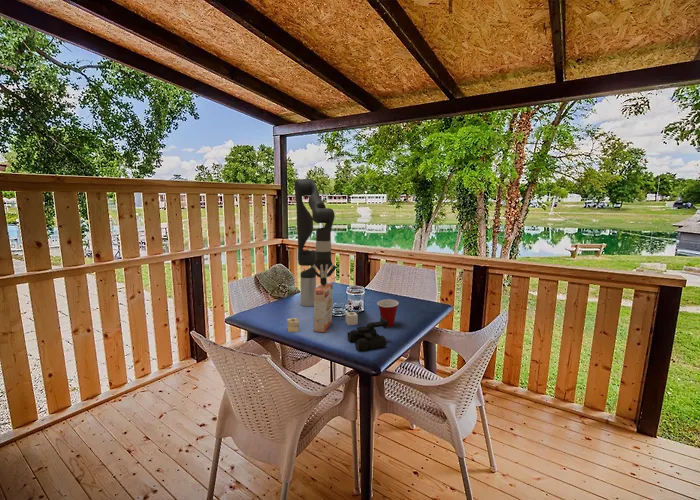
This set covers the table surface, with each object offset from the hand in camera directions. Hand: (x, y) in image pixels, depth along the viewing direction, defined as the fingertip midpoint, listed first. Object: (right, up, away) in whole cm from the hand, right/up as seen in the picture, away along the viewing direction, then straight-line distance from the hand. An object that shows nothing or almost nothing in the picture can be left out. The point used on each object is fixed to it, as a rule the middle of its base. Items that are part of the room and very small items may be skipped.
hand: (323, 285), depth 158 cm
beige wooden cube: (+14, -21, +9) cm, 26 cm away
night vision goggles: (+22, -25, -15) cm, 36 cm away
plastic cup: (+32, -21, +7) cm, 39 cm away
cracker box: (0, -21, +3) cm, 22 cm away
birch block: (-15, -22, -1) cm, 26 cm away
